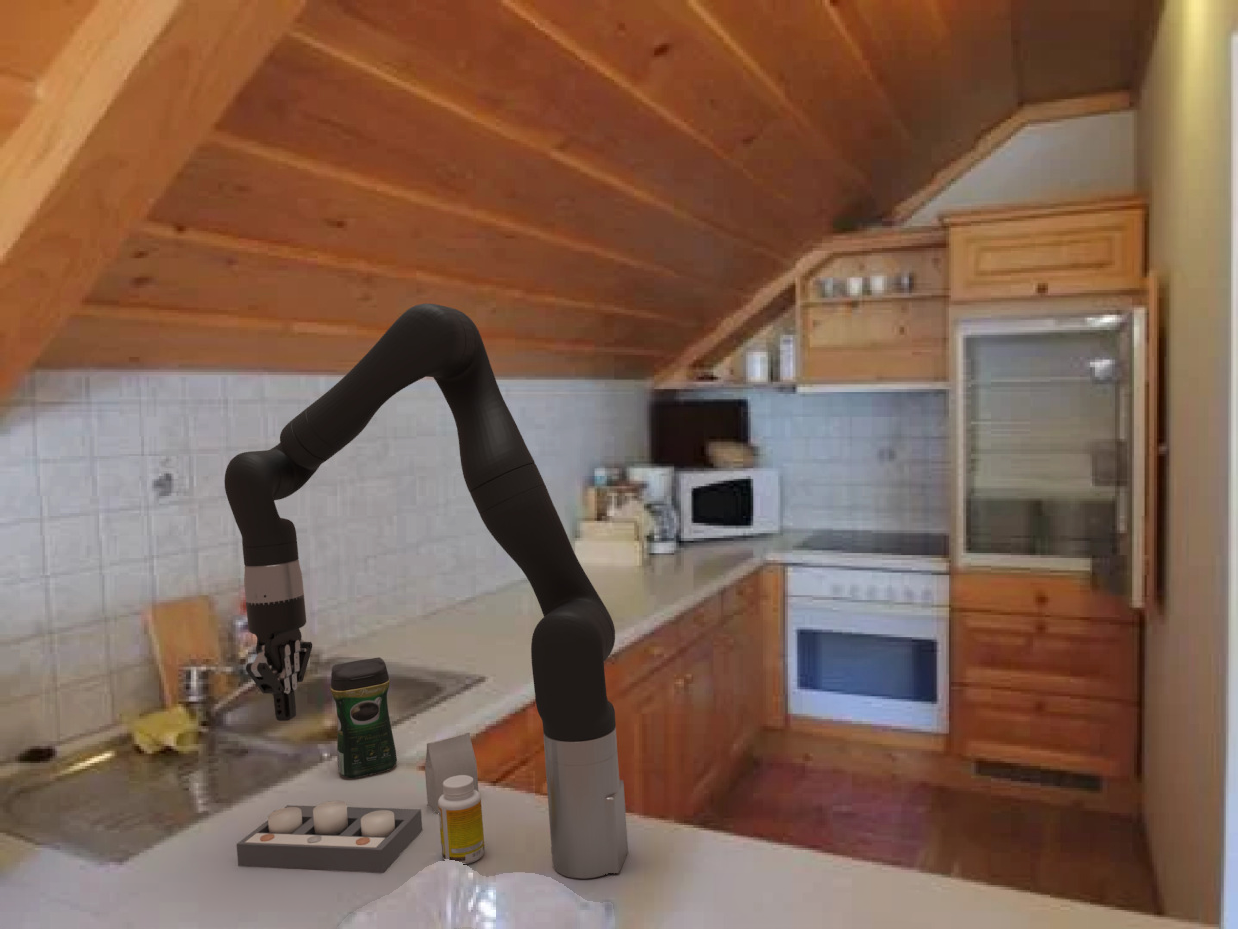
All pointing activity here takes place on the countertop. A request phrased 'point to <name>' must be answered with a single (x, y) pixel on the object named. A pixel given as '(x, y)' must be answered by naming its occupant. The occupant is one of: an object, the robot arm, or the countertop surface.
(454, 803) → the supplement bottle
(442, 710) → the countertop surface
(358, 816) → the button board
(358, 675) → the coffee jar
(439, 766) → the grey carton box
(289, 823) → the button
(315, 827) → the middle button
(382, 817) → the button
